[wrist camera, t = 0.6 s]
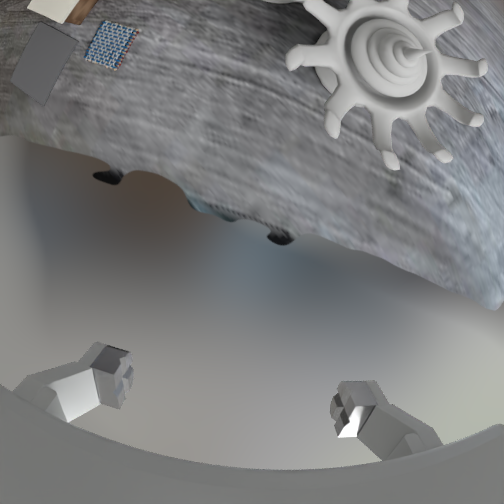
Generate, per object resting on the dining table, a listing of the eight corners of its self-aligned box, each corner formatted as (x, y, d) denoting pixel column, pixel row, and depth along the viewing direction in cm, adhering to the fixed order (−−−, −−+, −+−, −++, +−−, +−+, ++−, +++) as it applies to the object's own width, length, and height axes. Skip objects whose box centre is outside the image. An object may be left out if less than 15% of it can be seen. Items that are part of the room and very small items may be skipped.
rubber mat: (40, 21, 31) (39, 21, 31) (78, 41, 37) (77, 41, 37) (10, 80, 39) (9, 81, 38) (44, 106, 45) (43, 106, 44)
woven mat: (105, 19, 36) (101, 18, 34) (142, 30, 39) (138, 28, 37) (84, 59, 41) (80, 59, 39) (119, 72, 43) (114, 71, 42)
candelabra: (337, 172, 56) (392, 232, 32) (235, 39, 41) (219, -8, 18) (447, 103, 44) (533, 127, 21) (366, -25, 30) (428, -72, 7)
